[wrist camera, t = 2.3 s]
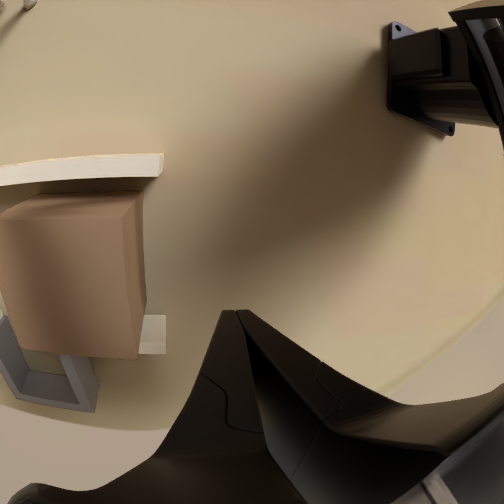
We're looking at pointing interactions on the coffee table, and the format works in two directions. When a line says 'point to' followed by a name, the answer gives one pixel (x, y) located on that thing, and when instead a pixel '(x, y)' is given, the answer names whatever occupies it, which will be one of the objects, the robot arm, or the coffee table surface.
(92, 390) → the trap pen
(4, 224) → the walnut block
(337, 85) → the coffee table surface
